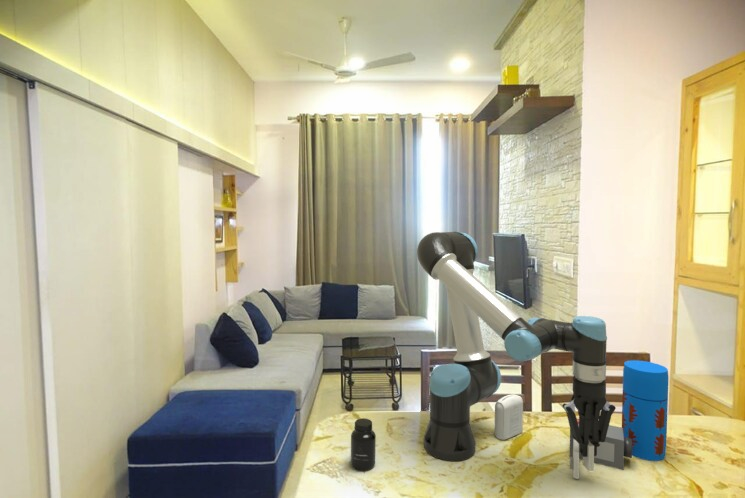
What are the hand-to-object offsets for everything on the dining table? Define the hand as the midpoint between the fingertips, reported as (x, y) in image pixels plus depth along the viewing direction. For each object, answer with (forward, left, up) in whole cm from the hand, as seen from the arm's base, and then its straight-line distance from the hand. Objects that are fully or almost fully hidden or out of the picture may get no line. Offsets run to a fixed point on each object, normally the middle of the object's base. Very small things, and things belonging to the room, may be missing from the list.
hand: (588, 467), depth 103 cm
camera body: (+2, +13, -3) cm, 14 cm away
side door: (-3, +3, -3) cm, 5 cm away
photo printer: (-22, +14, -3) cm, 26 cm away
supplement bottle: (-54, -22, -3) cm, 59 cm away
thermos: (+14, +23, -3) cm, 27 cm away
